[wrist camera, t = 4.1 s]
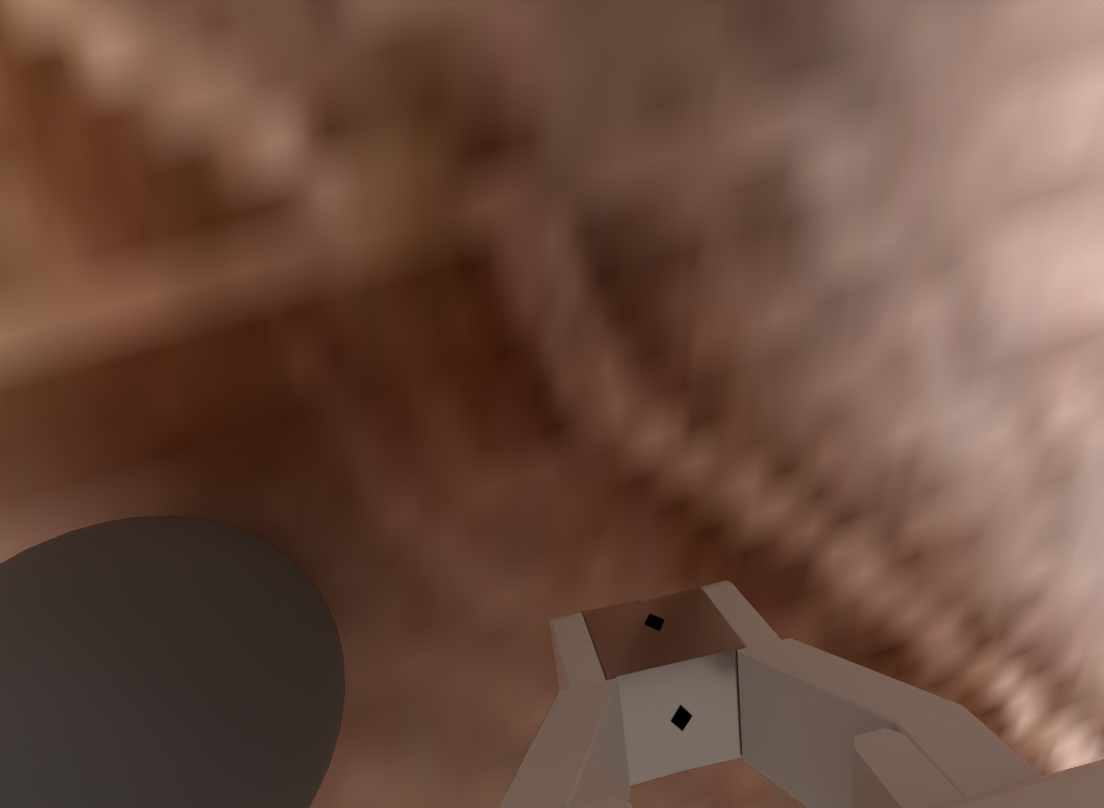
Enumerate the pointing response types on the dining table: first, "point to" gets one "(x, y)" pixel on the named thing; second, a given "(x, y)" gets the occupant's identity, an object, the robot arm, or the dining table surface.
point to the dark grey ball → (164, 671)
